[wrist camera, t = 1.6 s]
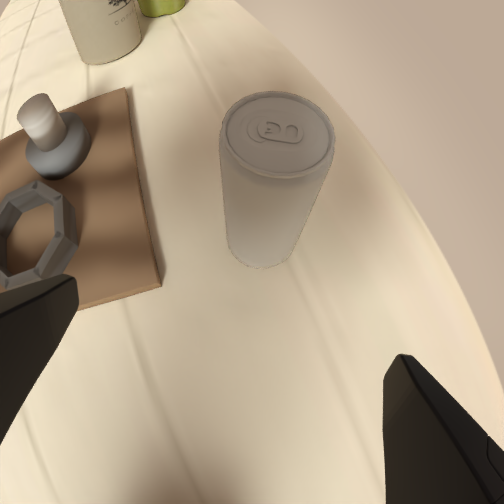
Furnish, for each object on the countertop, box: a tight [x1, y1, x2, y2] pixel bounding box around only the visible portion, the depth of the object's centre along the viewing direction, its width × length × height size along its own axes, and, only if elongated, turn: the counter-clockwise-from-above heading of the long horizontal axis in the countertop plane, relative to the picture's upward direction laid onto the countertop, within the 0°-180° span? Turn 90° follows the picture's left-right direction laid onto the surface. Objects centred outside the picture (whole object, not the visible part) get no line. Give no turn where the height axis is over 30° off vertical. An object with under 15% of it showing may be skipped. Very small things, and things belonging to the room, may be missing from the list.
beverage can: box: [219, 91, 335, 269], centre depth 18 cm, size 5×5×12 cm
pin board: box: [0, 87, 162, 311], centre depth 20 cm, size 20×16×8 cm
